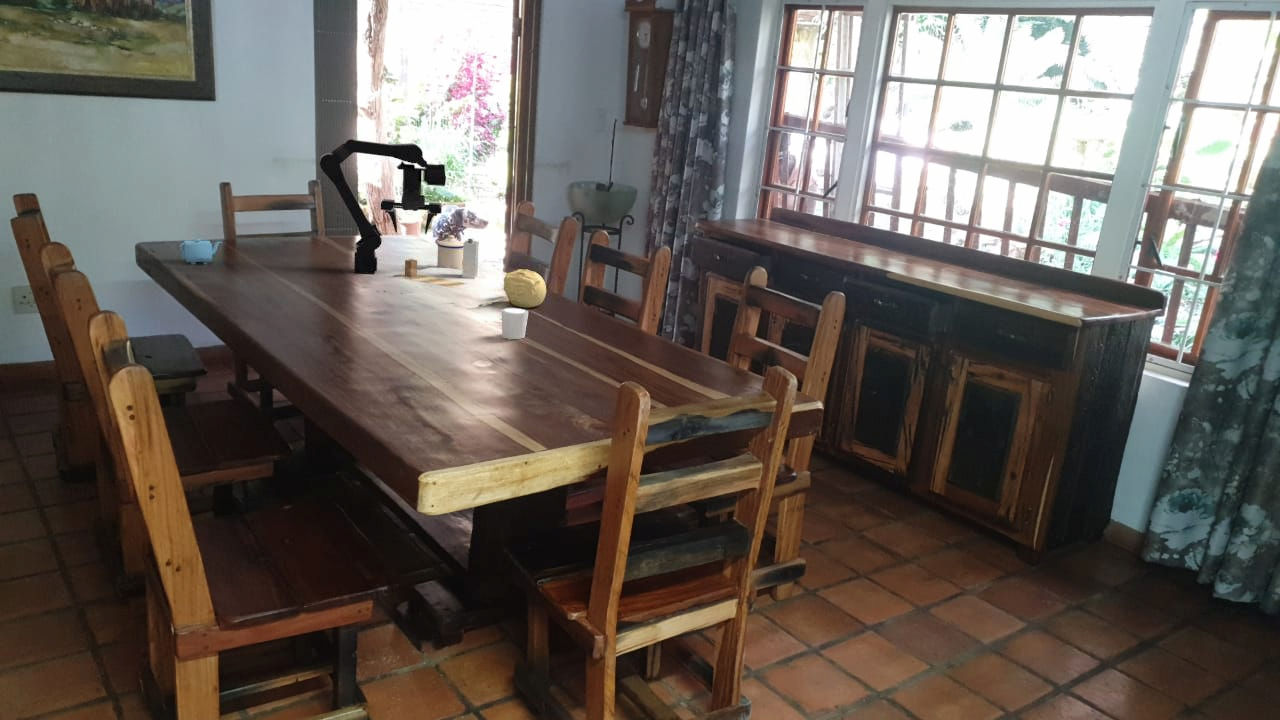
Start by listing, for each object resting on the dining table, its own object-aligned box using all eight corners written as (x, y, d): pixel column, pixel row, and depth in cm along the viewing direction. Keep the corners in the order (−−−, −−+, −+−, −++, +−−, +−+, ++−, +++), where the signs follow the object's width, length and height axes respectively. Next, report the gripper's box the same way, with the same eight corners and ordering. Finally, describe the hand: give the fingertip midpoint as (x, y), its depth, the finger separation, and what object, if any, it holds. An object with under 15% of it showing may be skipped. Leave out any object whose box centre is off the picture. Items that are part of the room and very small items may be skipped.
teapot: (221, 260, 294) (220, 237, 292) (224, 264, 290) (223, 240, 287) (179, 261, 288) (178, 237, 286) (181, 265, 283) (180, 240, 281)
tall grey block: (462, 280, 296) (463, 239, 292) (464, 277, 300) (466, 237, 297) (474, 281, 296) (476, 240, 292) (477, 278, 301) (478, 238, 297)
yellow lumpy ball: (497, 305, 270) (498, 268, 267) (519, 298, 281) (521, 263, 278) (530, 312, 266) (532, 275, 263) (552, 305, 276) (554, 269, 273)
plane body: (395, 281, 288) (396, 260, 286) (412, 277, 296) (412, 257, 294) (452, 292, 280) (453, 271, 279) (468, 288, 288) (468, 267, 286)
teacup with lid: (468, 272, 312) (470, 237, 309) (443, 273, 307) (445, 238, 303) (452, 265, 321) (453, 231, 318) (428, 266, 316) (429, 232, 312)
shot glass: (505, 341, 234) (506, 314, 232) (496, 333, 240) (497, 307, 238) (530, 340, 237) (532, 313, 235) (521, 332, 243) (522, 306, 241)
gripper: (379, 185, 285) (378, 235, 289) (441, 189, 288) (439, 239, 293) (382, 181, 295) (381, 229, 300) (442, 185, 299) (440, 233, 303)
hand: (411, 233), depth 299 cm, fingers open, 9 cm apart
